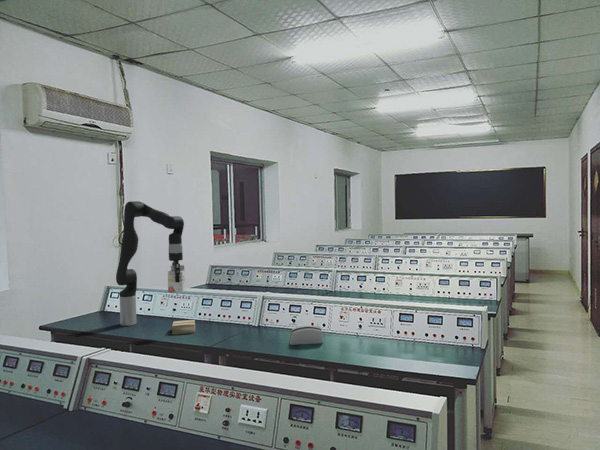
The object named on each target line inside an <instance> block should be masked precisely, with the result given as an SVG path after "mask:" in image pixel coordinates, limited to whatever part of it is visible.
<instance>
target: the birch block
mask: <svg viewBox="0 0 600 450" xmlns="http://www.w3.org/2000/svg"><path fill="white" fill-rule="evenodd" d="M171 332H172V335H180V334H181V335H182V334H194V333H196V320H195V319H190V320H189V319H188V320H187V319H186V320H174V321H173V322H172V326H171Z"/></svg>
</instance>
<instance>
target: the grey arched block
mask: <svg viewBox="0 0 600 450" xmlns="http://www.w3.org/2000/svg"><path fill="white" fill-rule="evenodd" d="M322 330H323V329H322V328H321V327H319V326H315V325H303V326H298V327H294V328H292V329H291V333H290V337H289V338H290V339H289V344H290V346H291V345H292V346H295V345H313V344H324V339H323V331H322Z"/></svg>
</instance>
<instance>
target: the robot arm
mask: <svg viewBox="0 0 600 450" xmlns="http://www.w3.org/2000/svg"><path fill="white" fill-rule="evenodd" d="M123 210H124V212H123V231H122V238H121V245H120V246H121V247H120V254H119V261H118V266H117V270H116V273H115V275H116V276H115V280H116V281H115V282H116V283H117V285H118V286H125V287H124V288H123V289H122V290H121V291H119V319H120V320H119V323H120V326H123V327H125V326H127V327H128V326H134V325H136V324H137V295H136V293H137V290H138V289H137V288H138V276H137V272H136V270H135V269H133V268H128V266H129V264H130V262H131V260H132V259H133V258H134V256H135V255H136V253H137V250H138V246H139V236H138V233H137V231H136V228H135V218H140V217H143V218H144V217H145V218H149V219H150V220H151V221H152V222H154V223H156V224H158V225H162V226H163V227H164V228H166V229H168V230H173V231H172V233H170V234H169V235H168V261H169V262H172V261H173V262H172V263H171V265H172V270H173V271H174V272H175V282H179V275H180V265H181V264H180V263H179V261H183V259H184V258H183V257H184V256H183V255H184V254H183V242H182V241H183V239H182V237H183V236H182V235H183V232H184V227H185V222H184V219H183V218H182V217H181V216H178V215H175V216H173V215H172V216H171V215H169V213H166V212H164V211H161V210H158V209H155V208H153V207H151V206H149V205H148V204H146V203H144V202H142V201H139V200H138V201H127V202H126V203H125V206H124V209H123ZM176 272H177V273H176Z"/></svg>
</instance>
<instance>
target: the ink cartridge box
mask: <svg viewBox="0 0 600 450" xmlns="http://www.w3.org/2000/svg"><path fill="white" fill-rule="evenodd" d="M176 273H177V272H176ZM185 291H186V270H185V265H184V264H180V275H179V282H175V272H174V271H173V270H172V264H171V265H170V270H169V271H167V293H184V292H185Z"/></svg>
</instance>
